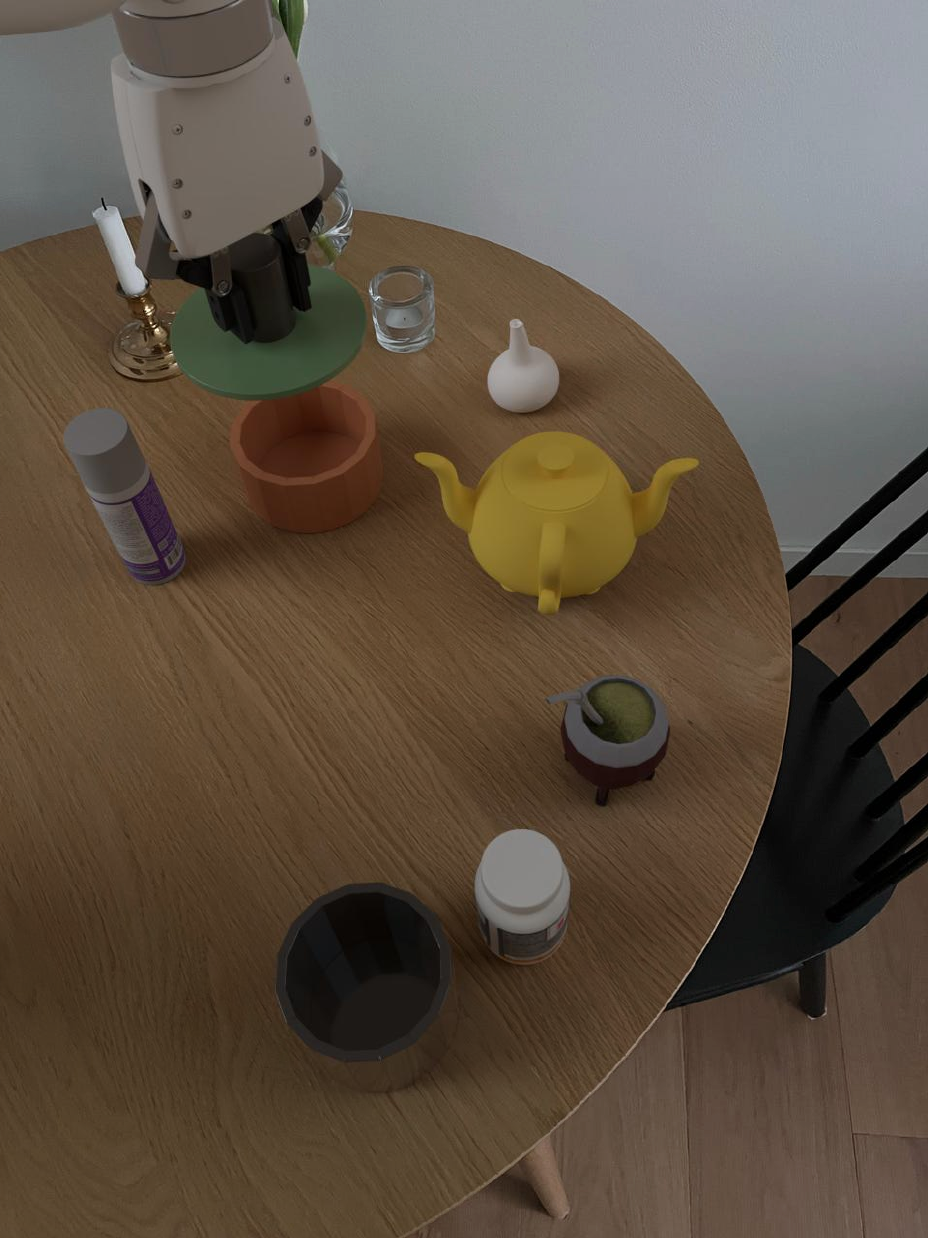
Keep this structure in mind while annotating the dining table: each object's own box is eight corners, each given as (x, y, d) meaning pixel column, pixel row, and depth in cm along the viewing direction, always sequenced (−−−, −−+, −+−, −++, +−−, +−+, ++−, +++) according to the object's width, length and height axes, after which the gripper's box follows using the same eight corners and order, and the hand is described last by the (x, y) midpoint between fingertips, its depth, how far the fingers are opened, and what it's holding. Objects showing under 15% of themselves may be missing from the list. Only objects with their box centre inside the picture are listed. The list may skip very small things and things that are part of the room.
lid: (139, 383, 67) (105, 297, 61) (229, 260, 73) (205, 172, 68) (320, 427, 64) (302, 341, 59) (397, 295, 71) (387, 207, 65)
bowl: (222, 513, 88) (204, 464, 83) (283, 416, 94) (269, 365, 89) (350, 548, 85) (339, 500, 80) (404, 446, 91) (397, 395, 86)
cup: (277, 1058, 64) (245, 1023, 56) (341, 911, 69) (319, 860, 61) (424, 1118, 62) (412, 1089, 54) (480, 961, 67) (475, 915, 59)
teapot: (416, 636, 80) (402, 544, 71) (432, 486, 88) (422, 385, 79) (683, 645, 79) (706, 552, 69) (675, 492, 87) (694, 390, 77)
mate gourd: (667, 733, 75) (697, 615, 62) (648, 835, 71) (675, 730, 58) (564, 710, 76) (573, 590, 64) (539, 809, 72) (543, 701, 60)
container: (167, 529, 87) (108, 396, 75) (197, 563, 85) (142, 432, 73) (117, 559, 86) (49, 429, 73) (146, 595, 84) (81, 467, 71)
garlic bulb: (567, 411, 93) (571, 340, 86) (497, 425, 92) (496, 355, 85) (547, 362, 96) (549, 291, 89) (480, 375, 96) (477, 304, 89)
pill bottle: (582, 906, 68) (591, 848, 60) (540, 985, 66) (543, 936, 57) (505, 864, 70) (503, 802, 62) (461, 939, 67) (453, 885, 59)
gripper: (288, -64, 56) (336, 232, 72) (5, 52, 51) (122, 347, 66) (374, -15, 53) (405, 285, 68) (81, 116, 47) (186, 411, 63)
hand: (265, 313), depth 67 cm, fingers closed on lid, 3 cm apart
